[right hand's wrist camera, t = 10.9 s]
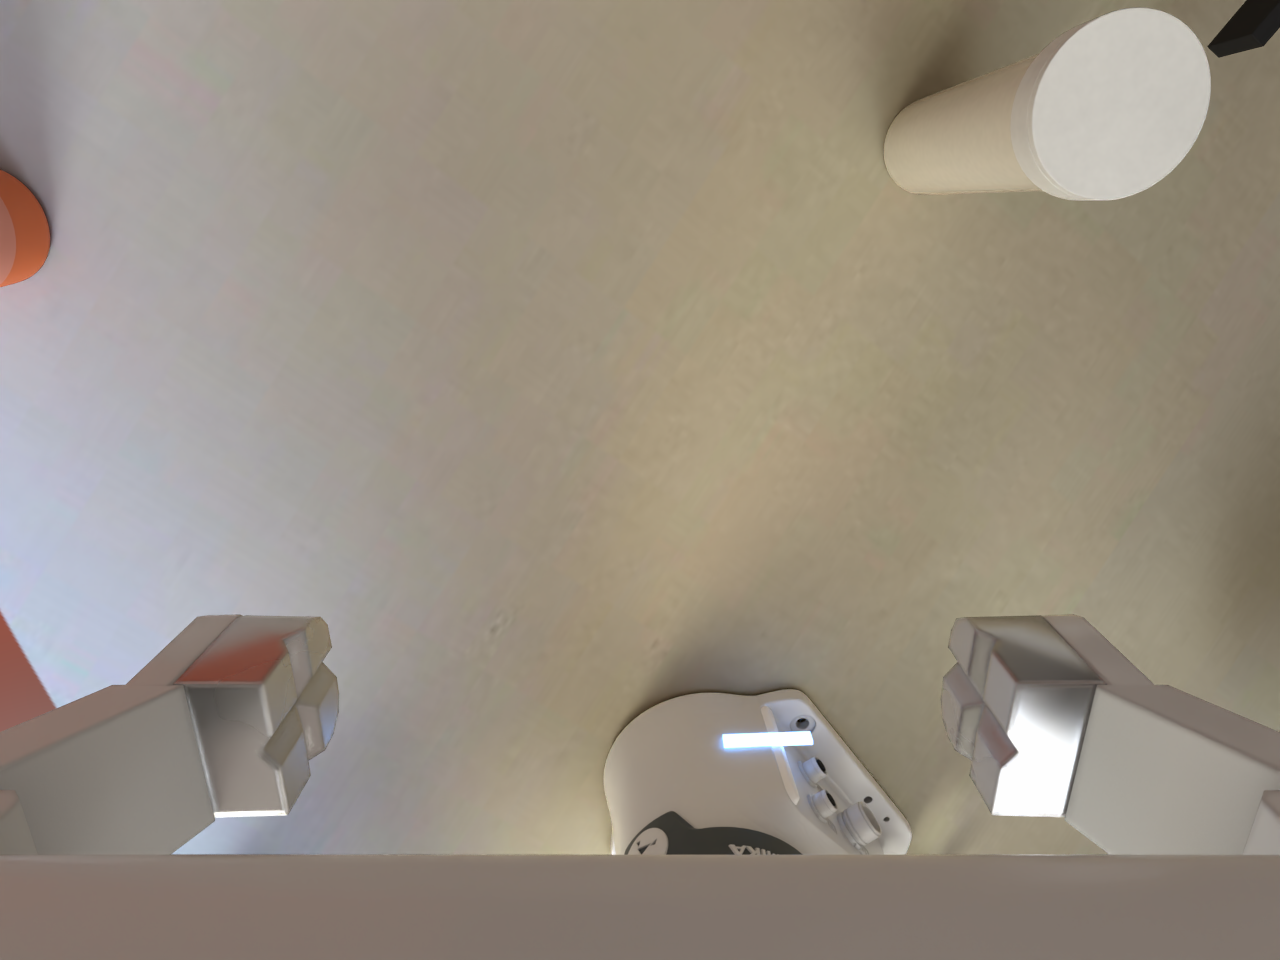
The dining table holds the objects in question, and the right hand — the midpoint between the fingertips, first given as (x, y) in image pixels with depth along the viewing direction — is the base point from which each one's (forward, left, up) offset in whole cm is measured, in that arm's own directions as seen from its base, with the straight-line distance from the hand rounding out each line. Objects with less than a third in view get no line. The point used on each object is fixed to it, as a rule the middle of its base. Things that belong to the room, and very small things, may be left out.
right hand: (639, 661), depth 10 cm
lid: (-6, -16, -19) cm, 25 cm away
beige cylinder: (-6, -16, -36) cm, 40 cm away
